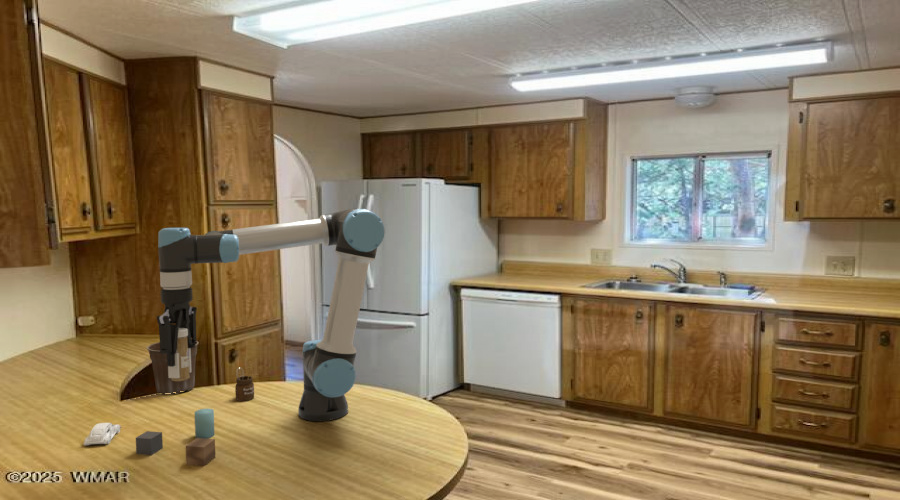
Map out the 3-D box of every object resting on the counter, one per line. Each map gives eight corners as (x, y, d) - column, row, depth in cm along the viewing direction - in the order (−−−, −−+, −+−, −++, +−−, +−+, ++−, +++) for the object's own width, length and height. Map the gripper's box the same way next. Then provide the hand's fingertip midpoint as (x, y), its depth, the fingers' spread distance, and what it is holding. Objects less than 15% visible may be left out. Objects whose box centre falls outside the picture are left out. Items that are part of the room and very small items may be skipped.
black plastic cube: (162, 448, 162) (162, 432, 161) (151, 455, 157) (150, 438, 157) (147, 447, 162) (147, 431, 162) (136, 454, 158) (135, 437, 158)
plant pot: (147, 399, 200) (145, 352, 198) (150, 385, 215) (148, 341, 213) (200, 393, 206) (198, 347, 205) (199, 380, 221) (198, 337, 220)
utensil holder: (231, 400, 199) (230, 364, 198) (244, 394, 205) (243, 360, 204) (245, 402, 197) (244, 366, 196) (258, 396, 203) (257, 361, 202)
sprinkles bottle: (191, 379, 158) (189, 329, 157) (172, 382, 155) (170, 331, 154) (188, 375, 162) (186, 326, 160) (169, 378, 159) (167, 328, 158)
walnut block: (215, 457, 156) (214, 439, 155) (204, 466, 151) (203, 447, 150) (197, 456, 157) (197, 437, 156) (186, 464, 152) (185, 445, 151)
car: (107, 447, 163) (106, 430, 162) (82, 448, 162) (81, 432, 161) (123, 430, 175) (123, 414, 174) (100, 431, 174) (99, 416, 173)
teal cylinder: (218, 432, 172) (217, 409, 171) (207, 439, 167) (207, 415, 166) (202, 431, 173) (201, 408, 172) (191, 438, 168) (190, 414, 167)
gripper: (184, 282, 165) (187, 365, 168) (140, 292, 148) (145, 384, 151) (208, 282, 164) (212, 366, 166) (167, 292, 147) (172, 386, 149)
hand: (180, 374), depth 158 cm, fingers closed on sprinkles bottle, 4 cm apart
